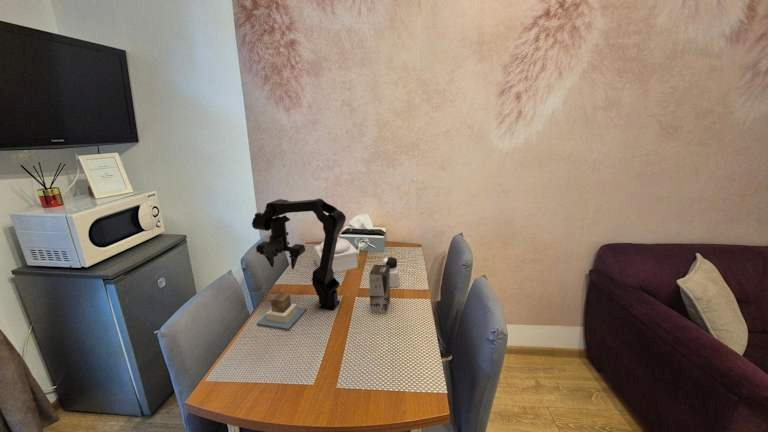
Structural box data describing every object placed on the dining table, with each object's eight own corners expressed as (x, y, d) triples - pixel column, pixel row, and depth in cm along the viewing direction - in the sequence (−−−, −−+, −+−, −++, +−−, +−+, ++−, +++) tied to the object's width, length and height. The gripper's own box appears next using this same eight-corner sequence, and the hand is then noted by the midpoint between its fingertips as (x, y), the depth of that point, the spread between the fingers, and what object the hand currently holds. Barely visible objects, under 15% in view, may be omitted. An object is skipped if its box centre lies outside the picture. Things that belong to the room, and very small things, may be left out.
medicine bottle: (398, 279, 149) (398, 255, 146) (397, 287, 142) (397, 262, 139) (383, 279, 150) (382, 255, 146) (381, 287, 143) (380, 262, 140)
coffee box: (386, 314, 123) (385, 275, 119) (369, 312, 125) (368, 274, 120) (390, 301, 132) (390, 264, 127) (375, 299, 133) (374, 263, 129)
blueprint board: (306, 310, 127) (305, 301, 126) (288, 331, 115) (287, 321, 114) (277, 306, 130) (276, 297, 129) (256, 325, 118) (255, 315, 117)
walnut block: (291, 305, 123) (289, 293, 122) (283, 313, 118) (282, 300, 117) (279, 303, 124) (278, 292, 123) (271, 311, 120) (270, 299, 118)
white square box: (315, 261, 170) (312, 233, 166) (348, 255, 177) (346, 227, 173) (323, 275, 155) (321, 244, 150) (359, 268, 162) (357, 238, 157)
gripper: (245, 237, 123) (250, 274, 128) (290, 240, 119) (294, 279, 123) (262, 227, 133) (266, 262, 138) (304, 230, 129) (307, 266, 134)
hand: (282, 267), depth 133 cm, fingers open, 9 cm apart
